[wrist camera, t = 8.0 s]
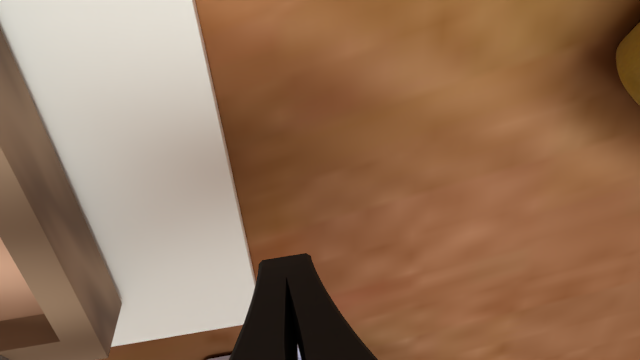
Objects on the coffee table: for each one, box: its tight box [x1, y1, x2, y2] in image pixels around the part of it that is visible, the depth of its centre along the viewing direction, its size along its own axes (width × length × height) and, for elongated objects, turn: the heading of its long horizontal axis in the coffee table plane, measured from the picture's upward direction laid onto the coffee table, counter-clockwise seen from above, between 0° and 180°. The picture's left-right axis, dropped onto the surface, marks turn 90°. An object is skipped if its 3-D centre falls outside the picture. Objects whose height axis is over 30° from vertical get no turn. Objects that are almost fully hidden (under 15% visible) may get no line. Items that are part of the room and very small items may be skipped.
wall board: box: [0, 0, 256, 347], centre depth 21 cm, size 21×18×1 cm
